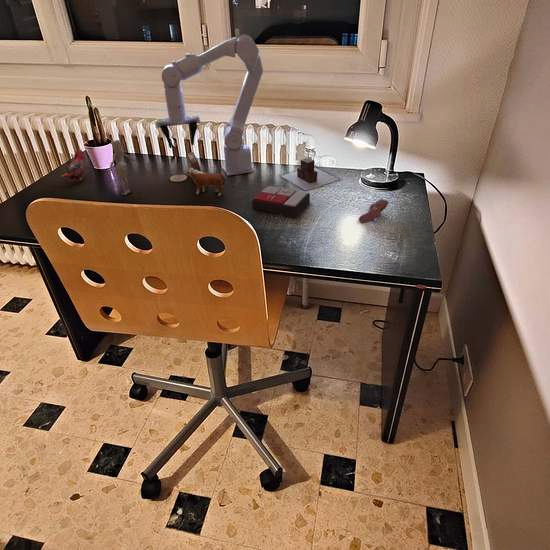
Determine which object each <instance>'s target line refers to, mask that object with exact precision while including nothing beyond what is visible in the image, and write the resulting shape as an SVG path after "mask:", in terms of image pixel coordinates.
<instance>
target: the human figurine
mask: <svg viewBox="0 0 550 550" xmlns="http://www.w3.org/2000/svg"><path fill="white" fill-rule="evenodd" d="M110 145H111V146H112V149H113V153H112V161H111V162H110V165H109V168H108V170H107V174H112V172H111V171H112V168H113V166H114V164H116V165H115V168H114V170H115V173H116V175H117V176H118V178H119V179H120V180H119V181H120V183H121V187H122V190H123V192H121V195H124V196H126V195H128V194H130V193H131V190H130V188H129V187H130V184H129V181H128V178H127V177H128V165H127V163H126V162H124V161H123V160H122V159H123V158H124V156H125V158H127V159H129V160H131V161H132V162H136V160H135V159H133V158H132V157H130V155H129V154H126V153H125V152H124V150H123V148H122V147H123V146H122V143H121V141H120V139H115V140H111V141H110ZM115 162H116V163H115Z"/></svg>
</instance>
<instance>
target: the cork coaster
mask: <svg viewBox="0 0 550 550" xmlns="http://www.w3.org/2000/svg"><path fill="white" fill-rule="evenodd" d="M187 180H188V175H185V174H175V175H172V176H171V177H170V178H169V181H170V182H171V183H183V182H185V181H187Z"/></svg>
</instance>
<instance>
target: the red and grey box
mask: <svg viewBox="0 0 550 550" xmlns="http://www.w3.org/2000/svg"><path fill="white" fill-rule="evenodd" d="M310 197H311V194H310V192H308V191H301V190H296V189H292V188H285V187H278V186H272V185H271V186H270V185H267V186H266V187H265V188H264V189H263V190H262V191H261V192H259V193H258V194H257V195H256V196H254V198H253V199H251V206H252V209H253V210H257V211H263V212H267V213H273V214H280V215H282V216H284V217H287V218H293V219H296V218H298V217H299V216H300V215H301V214H302V213H303V212H304V211H305V209H307V207H308V206H309V205H310V204H311V198H310Z"/></svg>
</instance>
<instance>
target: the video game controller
mask: <svg viewBox="0 0 550 550" xmlns="http://www.w3.org/2000/svg"><path fill="white" fill-rule="evenodd" d="M388 205H389V201H388V200H386V199H384V198H381V199H379V200H377V201H376V202H374V203H372V204H371V205H370V206H369V211H368V212H366V213H363V214H362V215H360V216H359V218H358V222H359V223H361V224H367V223H370V222H374V221H375V220H376V219H380V218H381V215H382V212H383V211H384V210H385V209H386V208H387V207H388Z"/></svg>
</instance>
